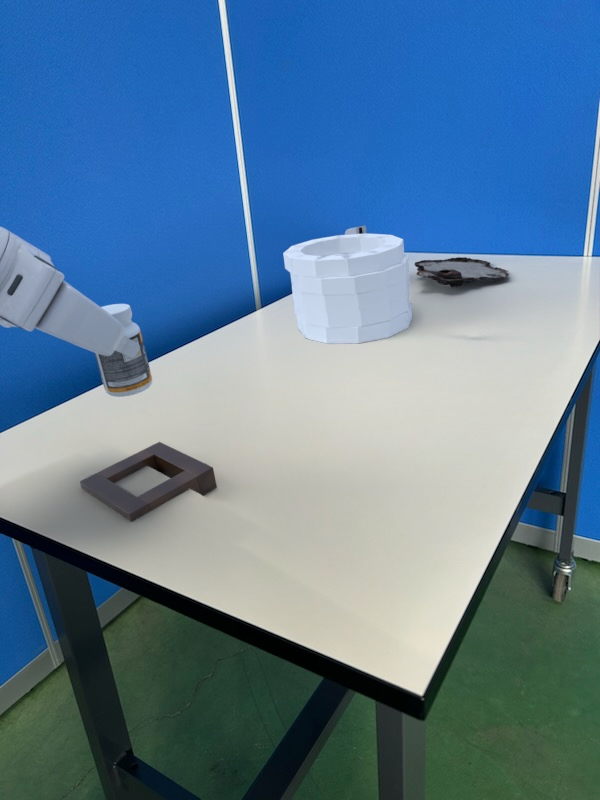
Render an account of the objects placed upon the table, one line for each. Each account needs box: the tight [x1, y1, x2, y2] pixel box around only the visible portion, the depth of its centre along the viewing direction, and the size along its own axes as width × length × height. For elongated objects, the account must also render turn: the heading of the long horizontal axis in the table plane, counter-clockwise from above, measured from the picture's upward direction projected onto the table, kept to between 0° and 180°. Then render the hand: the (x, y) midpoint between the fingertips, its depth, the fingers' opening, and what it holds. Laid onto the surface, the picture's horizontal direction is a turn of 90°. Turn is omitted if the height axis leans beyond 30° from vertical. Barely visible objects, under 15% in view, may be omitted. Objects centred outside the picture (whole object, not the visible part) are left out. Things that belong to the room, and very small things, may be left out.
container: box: [282, 232, 413, 345], centre depth 127 cm, size 25×24×16 cm
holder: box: [79, 441, 218, 523], centre depth 78 cm, size 12×12×3 cm
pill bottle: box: [94, 303, 153, 398], centre depth 73 cm, size 6×6×10 cm
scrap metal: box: [414, 256, 510, 289], centre depth 151 cm, size 23×4×30 cm
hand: (124, 345), depth 73 cm, fingers closed on pill bottle, 6 cm apart
